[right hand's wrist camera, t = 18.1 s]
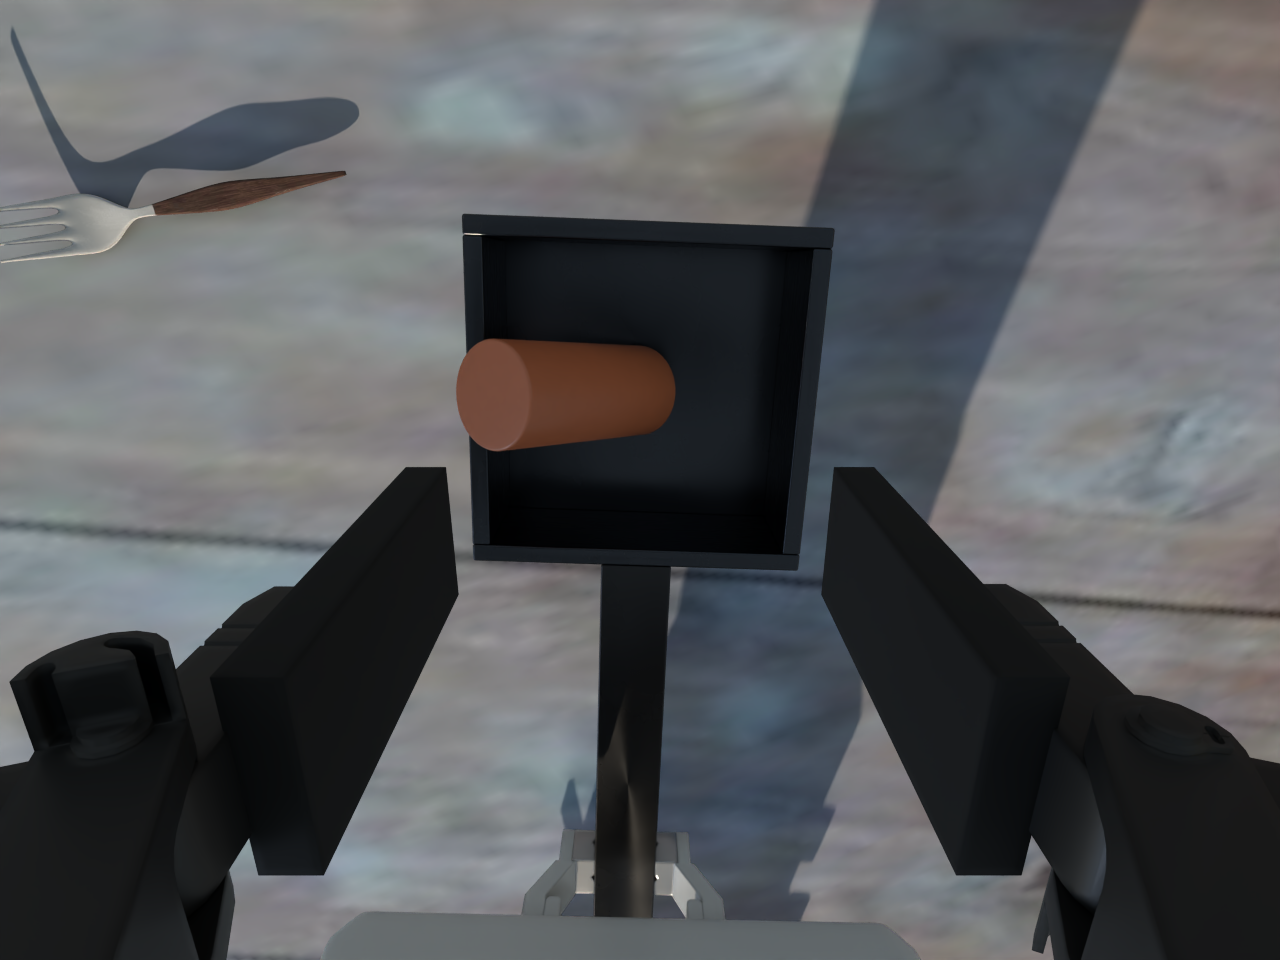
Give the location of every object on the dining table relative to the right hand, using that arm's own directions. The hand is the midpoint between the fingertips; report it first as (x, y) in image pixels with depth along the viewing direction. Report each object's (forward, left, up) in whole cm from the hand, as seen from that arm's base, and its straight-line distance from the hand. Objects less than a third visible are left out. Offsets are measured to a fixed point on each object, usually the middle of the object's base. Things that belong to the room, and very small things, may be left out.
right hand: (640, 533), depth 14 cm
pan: (+8, -4, -14) cm, 17 cm away
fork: (-14, -17, -23) cm, 32 cm away
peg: (0, 0, -13) cm, 13 cm away
